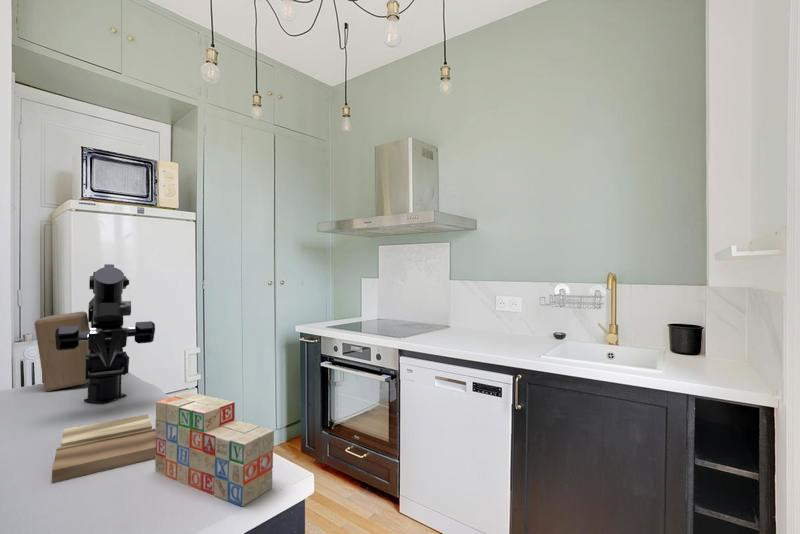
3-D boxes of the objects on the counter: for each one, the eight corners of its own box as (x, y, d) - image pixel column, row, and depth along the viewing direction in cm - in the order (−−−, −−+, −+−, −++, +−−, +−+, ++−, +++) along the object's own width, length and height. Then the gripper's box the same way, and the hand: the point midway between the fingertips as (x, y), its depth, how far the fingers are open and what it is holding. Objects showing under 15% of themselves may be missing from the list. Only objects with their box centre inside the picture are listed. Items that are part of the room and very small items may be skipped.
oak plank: (63, 429, 78) (61, 443, 71) (147, 414, 86) (151, 425, 80) (63, 444, 78) (60, 460, 71) (147, 428, 86) (151, 440, 80)
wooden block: (44, 392, 107) (32, 320, 106) (55, 383, 116) (44, 316, 115) (89, 383, 112) (79, 314, 111) (97, 374, 121) (87, 310, 120)
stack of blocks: (273, 488, 63) (275, 410, 63) (241, 508, 57) (243, 424, 58) (187, 457, 73) (189, 390, 73) (153, 472, 67) (155, 399, 67)
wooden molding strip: (56, 459, 71) (57, 446, 71) (154, 438, 80) (154, 427, 80) (51, 482, 63) (52, 468, 63) (160, 457, 72) (160, 444, 72)
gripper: (56, 290, 88) (51, 349, 79) (155, 289, 99) (159, 340, 90) (58, 321, 94) (53, 379, 85) (151, 316, 105) (154, 367, 97)
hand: (107, 365), depth 89 cm, fingers closed
